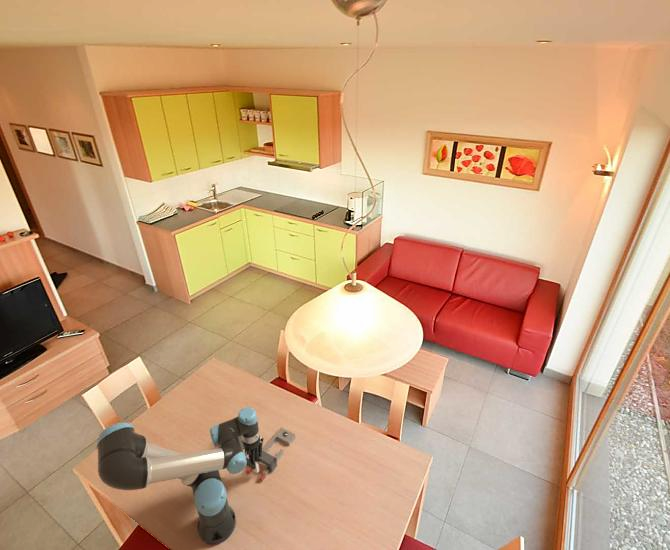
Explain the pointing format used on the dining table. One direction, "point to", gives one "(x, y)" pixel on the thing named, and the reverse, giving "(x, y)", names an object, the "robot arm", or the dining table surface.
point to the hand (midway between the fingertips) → (255, 470)
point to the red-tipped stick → (269, 467)
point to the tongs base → (280, 435)
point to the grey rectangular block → (268, 460)
